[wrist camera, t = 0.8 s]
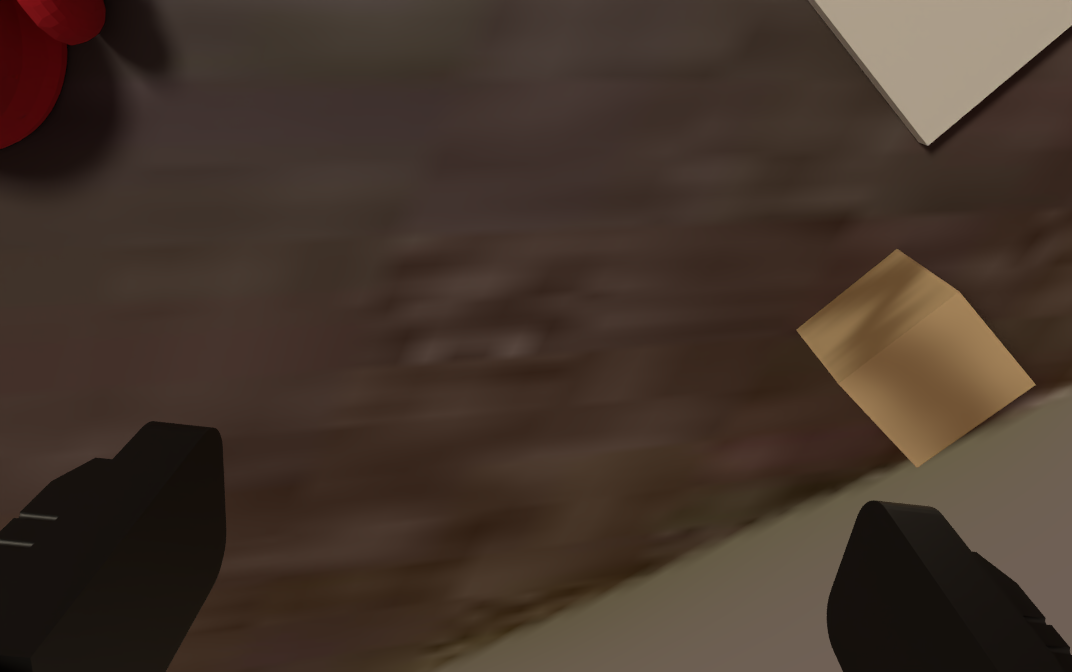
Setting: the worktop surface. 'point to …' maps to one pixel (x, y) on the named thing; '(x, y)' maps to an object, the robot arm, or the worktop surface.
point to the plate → (942, 50)
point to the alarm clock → (38, 57)
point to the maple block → (914, 356)
